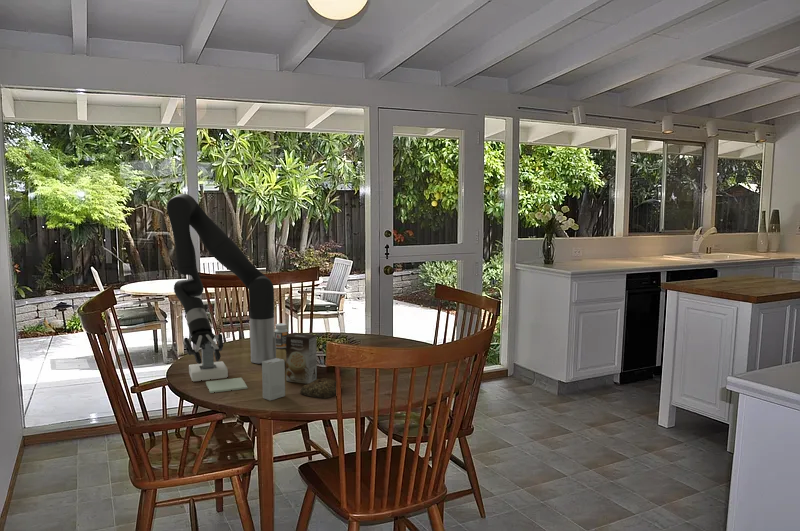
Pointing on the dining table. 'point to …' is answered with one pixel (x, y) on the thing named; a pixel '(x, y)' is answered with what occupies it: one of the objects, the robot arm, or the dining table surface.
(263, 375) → the skincare box
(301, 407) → the dining table surface
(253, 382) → the dining table surface
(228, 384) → the sage mat
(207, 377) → the key socket
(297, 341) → the coffee box
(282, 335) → the pill bottle
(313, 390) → the brown rock
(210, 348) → the t-key
